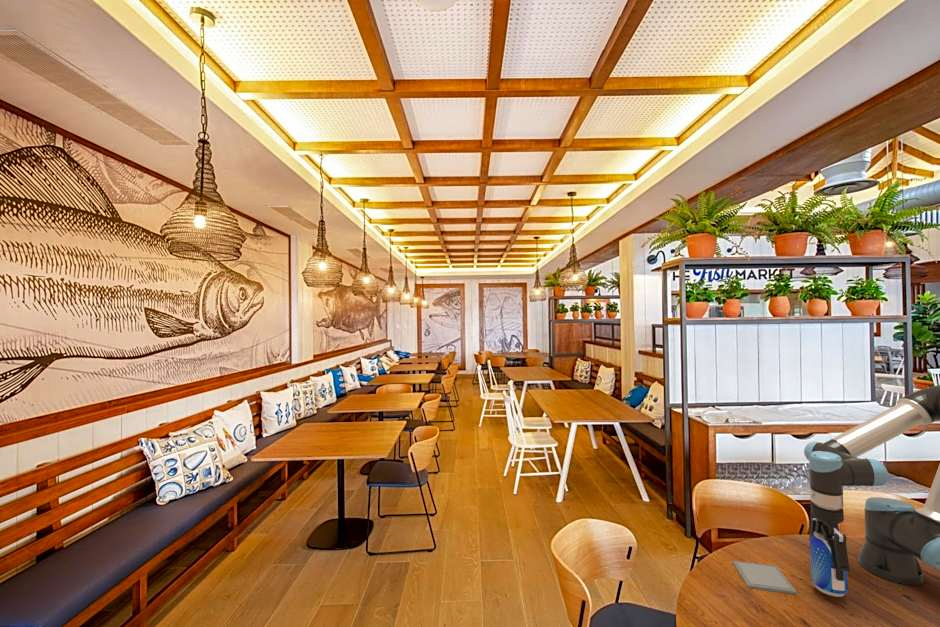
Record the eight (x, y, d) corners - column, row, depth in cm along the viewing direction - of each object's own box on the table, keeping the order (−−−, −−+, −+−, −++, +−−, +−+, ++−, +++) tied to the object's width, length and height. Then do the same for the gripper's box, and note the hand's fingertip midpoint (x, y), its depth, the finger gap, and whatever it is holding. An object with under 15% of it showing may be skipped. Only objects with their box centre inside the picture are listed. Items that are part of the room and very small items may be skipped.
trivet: (776, 568, 138) (776, 565, 138) (796, 594, 125) (796, 591, 125) (732, 562, 141) (732, 560, 141) (748, 587, 128) (748, 584, 128)
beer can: (855, 600, 119) (853, 545, 119) (822, 597, 121) (820, 542, 121) (836, 581, 127) (834, 529, 127) (805, 578, 129) (803, 527, 129)
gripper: (794, 488, 135) (796, 557, 135) (833, 521, 115) (835, 602, 115) (821, 490, 133) (823, 560, 133) (865, 523, 113) (868, 605, 113)
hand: (829, 579), depth 124 cm, fingers closed on beer can, 8 cm apart
